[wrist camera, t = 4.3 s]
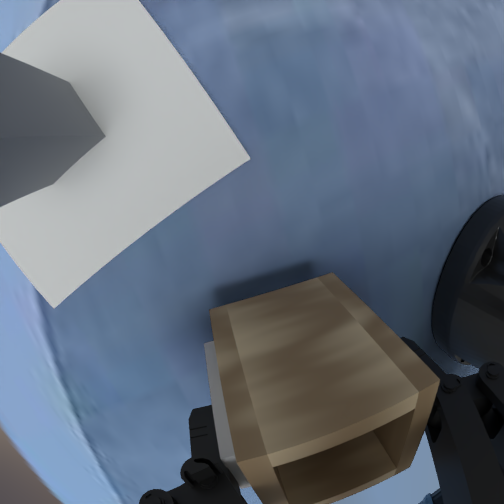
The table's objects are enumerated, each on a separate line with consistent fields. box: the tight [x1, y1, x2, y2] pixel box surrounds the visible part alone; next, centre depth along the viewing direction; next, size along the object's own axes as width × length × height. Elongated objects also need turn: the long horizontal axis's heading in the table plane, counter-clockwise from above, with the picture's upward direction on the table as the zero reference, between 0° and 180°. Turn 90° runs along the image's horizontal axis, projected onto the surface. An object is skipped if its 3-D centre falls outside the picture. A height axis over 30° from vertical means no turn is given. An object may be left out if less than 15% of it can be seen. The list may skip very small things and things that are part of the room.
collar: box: [209, 272, 440, 504], centre depth 12 cm, size 6×6×8 cm
